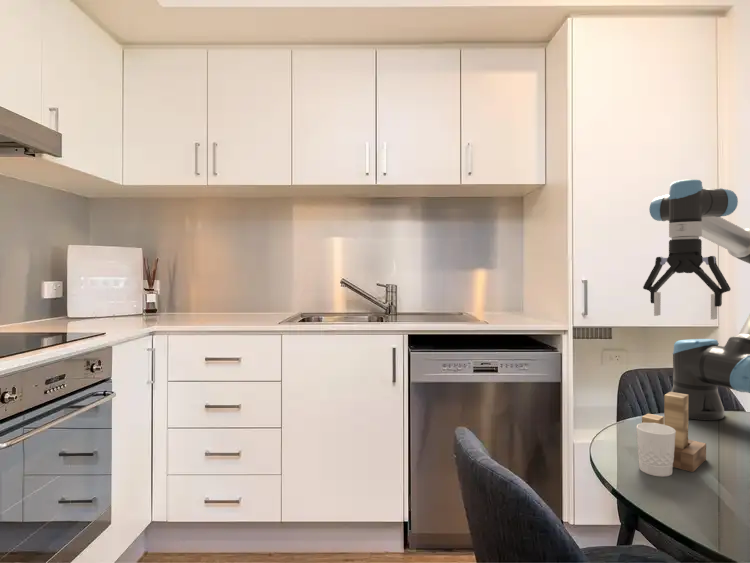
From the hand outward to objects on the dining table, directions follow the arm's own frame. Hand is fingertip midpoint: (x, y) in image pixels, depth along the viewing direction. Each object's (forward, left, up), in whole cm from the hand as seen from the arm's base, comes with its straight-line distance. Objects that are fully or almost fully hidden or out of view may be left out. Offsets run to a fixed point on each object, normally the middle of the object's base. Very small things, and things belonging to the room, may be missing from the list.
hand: (684, 317), depth 136 cm
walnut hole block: (+19, +4, -33) cm, 38 cm away
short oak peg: (+11, -4, -33) cm, 35 cm away
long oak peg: (+19, +4, -33) cm, 38 cm away
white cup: (+29, +3, -33) cm, 44 cm away
